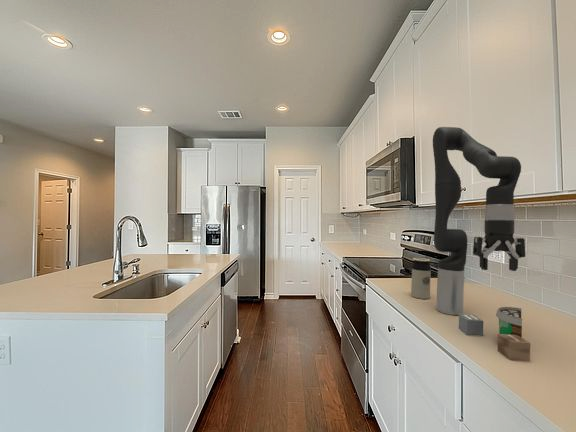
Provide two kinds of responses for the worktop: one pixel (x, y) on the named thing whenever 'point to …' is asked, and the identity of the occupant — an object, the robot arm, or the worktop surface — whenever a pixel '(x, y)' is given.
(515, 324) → the food container
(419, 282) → the travel mug
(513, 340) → the walnut block
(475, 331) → the slate block
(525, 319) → the worktop surface
